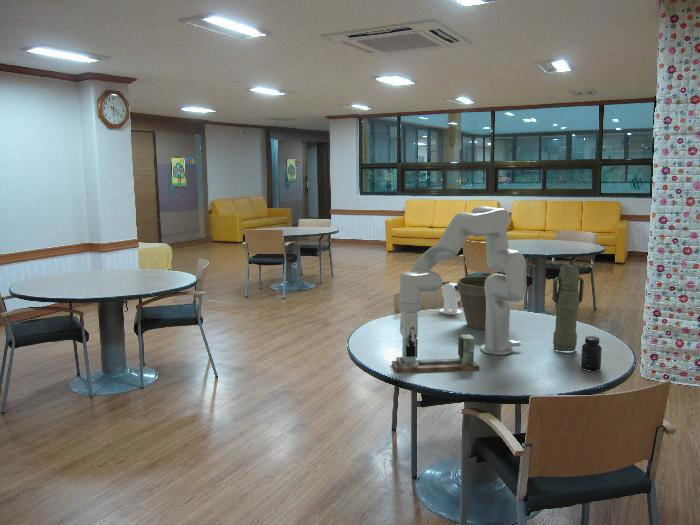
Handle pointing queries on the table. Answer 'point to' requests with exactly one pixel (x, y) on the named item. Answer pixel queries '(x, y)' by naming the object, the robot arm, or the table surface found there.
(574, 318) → the thermos
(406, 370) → the rail
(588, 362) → the supplement bottle
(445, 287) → the white rounded piece
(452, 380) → the table surface
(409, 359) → the pale green block
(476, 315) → the plant pot
